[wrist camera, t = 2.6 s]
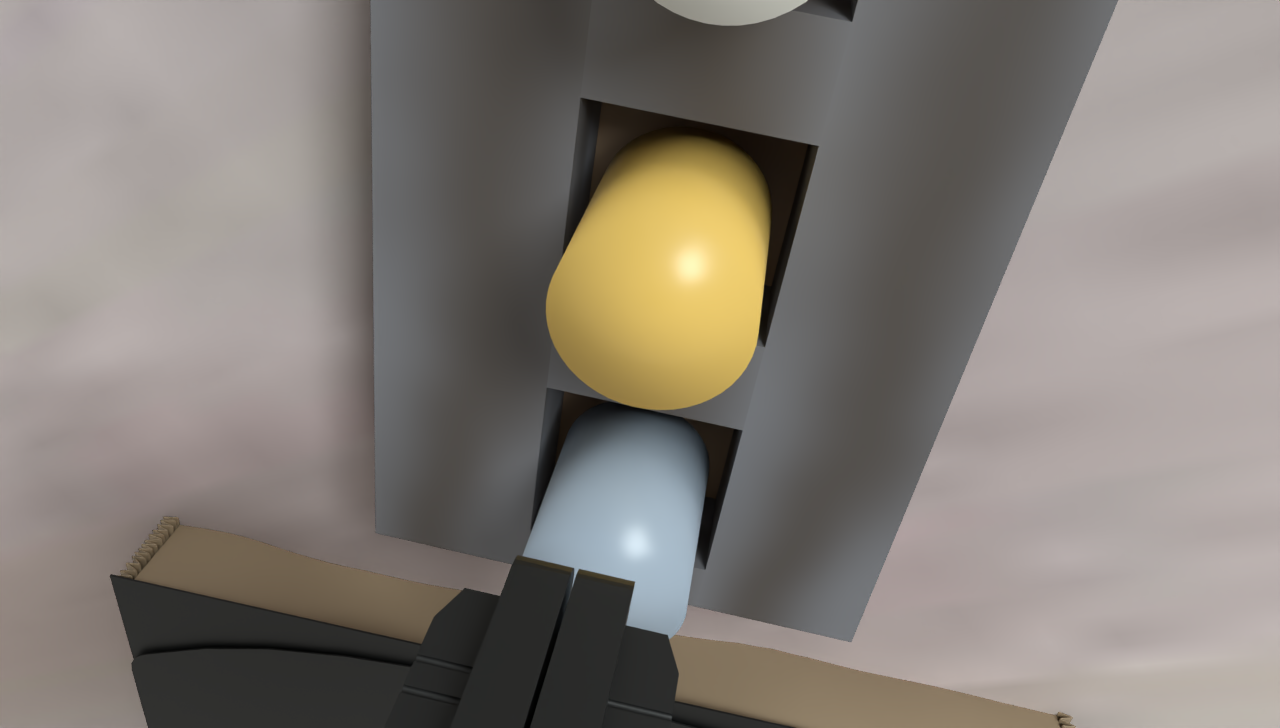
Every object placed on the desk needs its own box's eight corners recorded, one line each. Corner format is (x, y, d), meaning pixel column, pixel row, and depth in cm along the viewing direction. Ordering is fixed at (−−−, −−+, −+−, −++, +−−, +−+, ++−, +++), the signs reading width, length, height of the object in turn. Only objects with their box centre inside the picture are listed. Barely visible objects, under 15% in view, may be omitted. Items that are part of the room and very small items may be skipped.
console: (423, 448, 31) (375, 532, 28) (448, -474, 18) (365, -516, 15) (848, 543, 31) (851, 642, 27) (1186, -345, 18) (1267, -360, 14)
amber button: (588, 268, 23) (536, 385, 19) (609, 110, 21) (556, 203, 17) (751, 303, 23) (734, 428, 19) (790, 146, 21) (780, 250, 17)
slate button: (557, 497, 28) (509, 633, 23) (572, 385, 25) (522, 513, 21) (694, 528, 27) (671, 670, 23) (722, 417, 25) (701, 554, 21)
